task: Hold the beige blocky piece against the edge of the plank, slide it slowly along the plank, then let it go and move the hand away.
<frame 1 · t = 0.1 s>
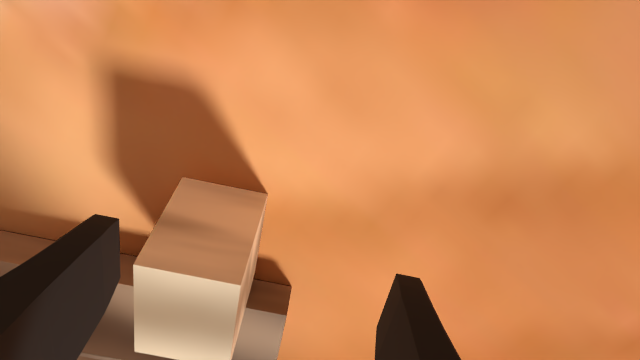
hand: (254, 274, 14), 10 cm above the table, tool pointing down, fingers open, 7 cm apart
beige blocky piece: (220, 226, 26), on the table
plank: (86, 299, 29), on the table
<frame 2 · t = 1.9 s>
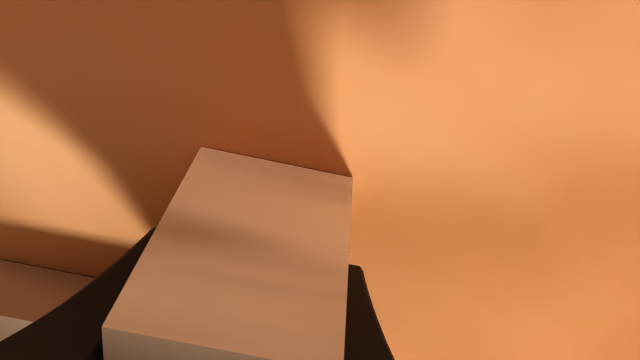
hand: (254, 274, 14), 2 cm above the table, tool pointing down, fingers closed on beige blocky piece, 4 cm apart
beige blocky piece: (264, 235, 15), on the table, touching gripper
plank: (43, 348, 19), on the table
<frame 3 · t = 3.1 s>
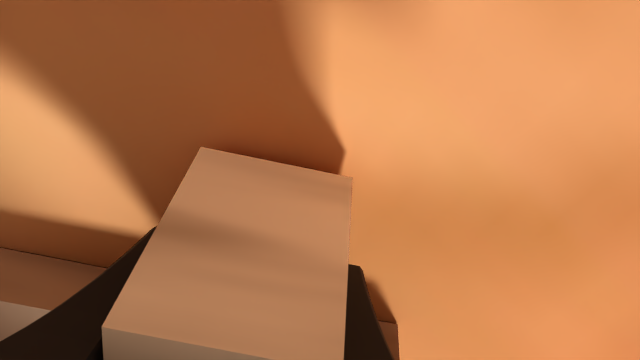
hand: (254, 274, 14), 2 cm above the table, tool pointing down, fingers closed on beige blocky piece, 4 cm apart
beige blocky piece: (264, 235, 15), on the table, touching gripper
plank: (70, 341, 19), on the table
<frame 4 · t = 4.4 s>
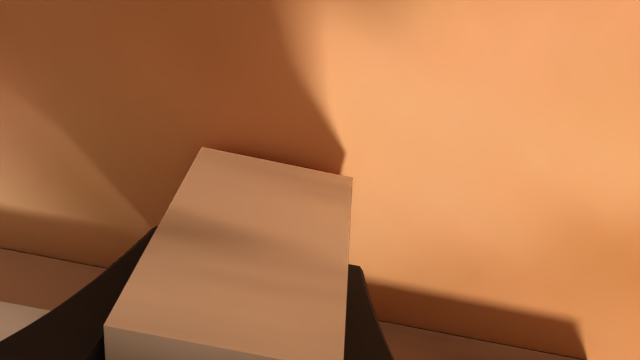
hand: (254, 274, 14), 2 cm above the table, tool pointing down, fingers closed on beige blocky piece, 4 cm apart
beige blocky piece: (265, 235, 15), on the table, touching gripper
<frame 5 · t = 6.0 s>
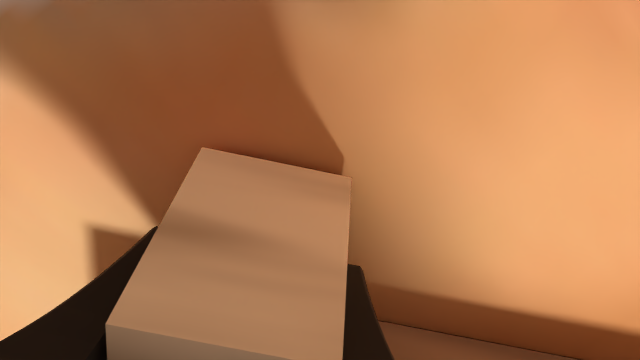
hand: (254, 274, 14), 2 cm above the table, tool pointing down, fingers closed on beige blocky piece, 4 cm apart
beige blocky piece: (265, 234, 15), on the table, touching gripper
when the fingers open (2 cm above the table, at t = 7.2 s): beige blocky piece stays where it is, on the table.
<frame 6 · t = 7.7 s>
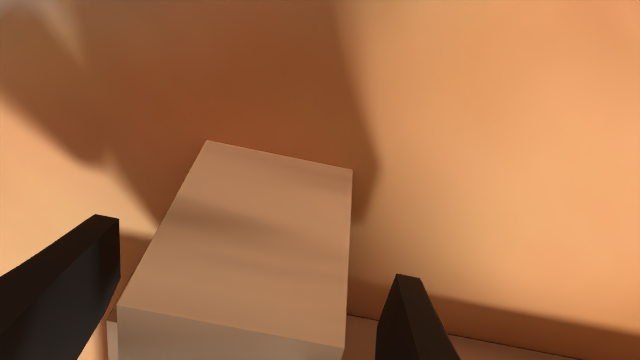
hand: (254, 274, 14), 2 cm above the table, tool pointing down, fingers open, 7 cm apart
beige blocky piece: (267, 226, 15), on the table
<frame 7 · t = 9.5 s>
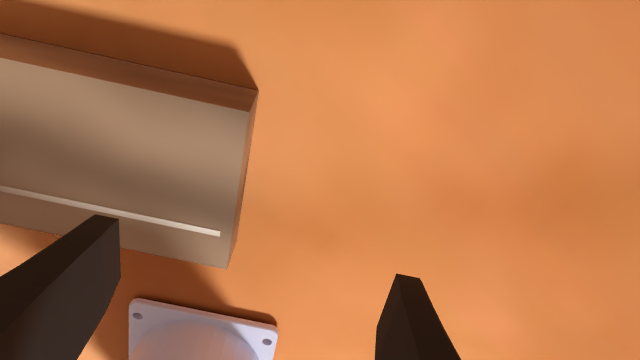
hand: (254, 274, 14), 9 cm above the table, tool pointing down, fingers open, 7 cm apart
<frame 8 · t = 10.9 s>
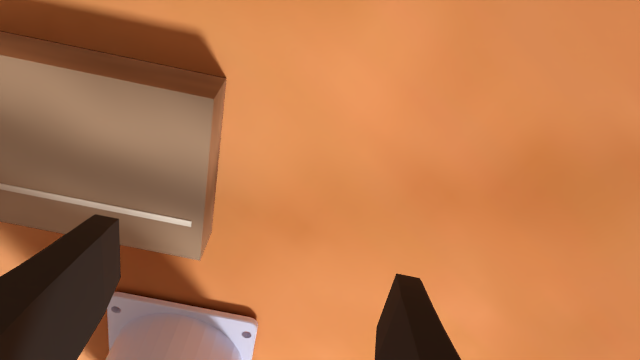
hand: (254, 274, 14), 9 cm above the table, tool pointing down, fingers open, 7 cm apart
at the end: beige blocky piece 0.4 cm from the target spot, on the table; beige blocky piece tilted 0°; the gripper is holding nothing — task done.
